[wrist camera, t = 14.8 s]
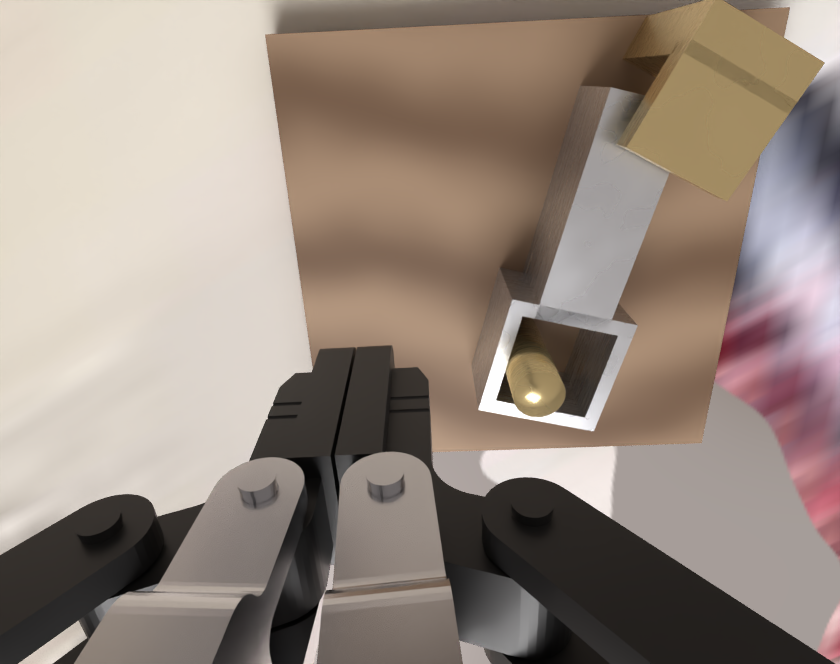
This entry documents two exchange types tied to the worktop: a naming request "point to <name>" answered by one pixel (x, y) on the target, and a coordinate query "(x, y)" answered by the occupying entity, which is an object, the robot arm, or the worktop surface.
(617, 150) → the link
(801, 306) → the worktop surface
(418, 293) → the board
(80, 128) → the worktop surface
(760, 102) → the block
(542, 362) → the cylinder
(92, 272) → the worktop surface
